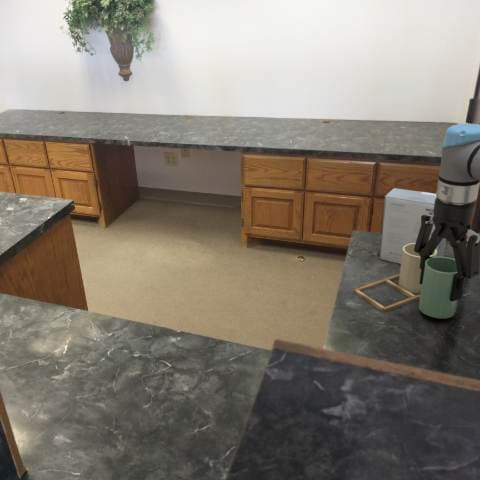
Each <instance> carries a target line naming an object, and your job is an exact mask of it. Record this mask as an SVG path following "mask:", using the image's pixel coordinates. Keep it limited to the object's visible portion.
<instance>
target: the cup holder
mask: <svg viewBox="0 0 480 480" xmlns="http://www.w3.org/2000/svg"><path fill="white" fill-rule="evenodd" d="M399 275H400V273H396V274H394V275H391V276H388V277H385V278H382V279H380V280H377V281H374V282H371V283H368V284H365V285H362V286H360V287H357V288H354V289H353V294H355V295H356V296H358V297H359V298H361V299H363V300H364V301H365V302H367V303H369V304H370V305H372V306H373V307H375V308H376V309H377V310H379V311H381V312H382V313H384V314H385V313H387V312H390V311H392V310H395V309H398V308H400V307H403V306H406V305H409V304H412V303H414V302H416V301H419V299H420V293H419V294H416V295H415V293H411V292H409V291H407V290H405V289H403V288H402V287H400V286H399V284H397V283H395V282H393V281H396V280H399ZM385 284H386V285H387V286H389V287H391V288H393V289H394V290H396V291H397V292H399V293H401V294H402V295H404V296H406V297H407V298H405V299H402V300H400V301H397V302H395V303H392V304H389V305H386V306H384V305H382V304H381V303H380V302H378V301H376V300H374V299H373V298H372V297H370V296H369V295H367V294H365V293H364V292H365V291H367V290H371V289H375V288H376V287H377V288H378V287H380V286H383V285H385Z"/></svg>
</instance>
